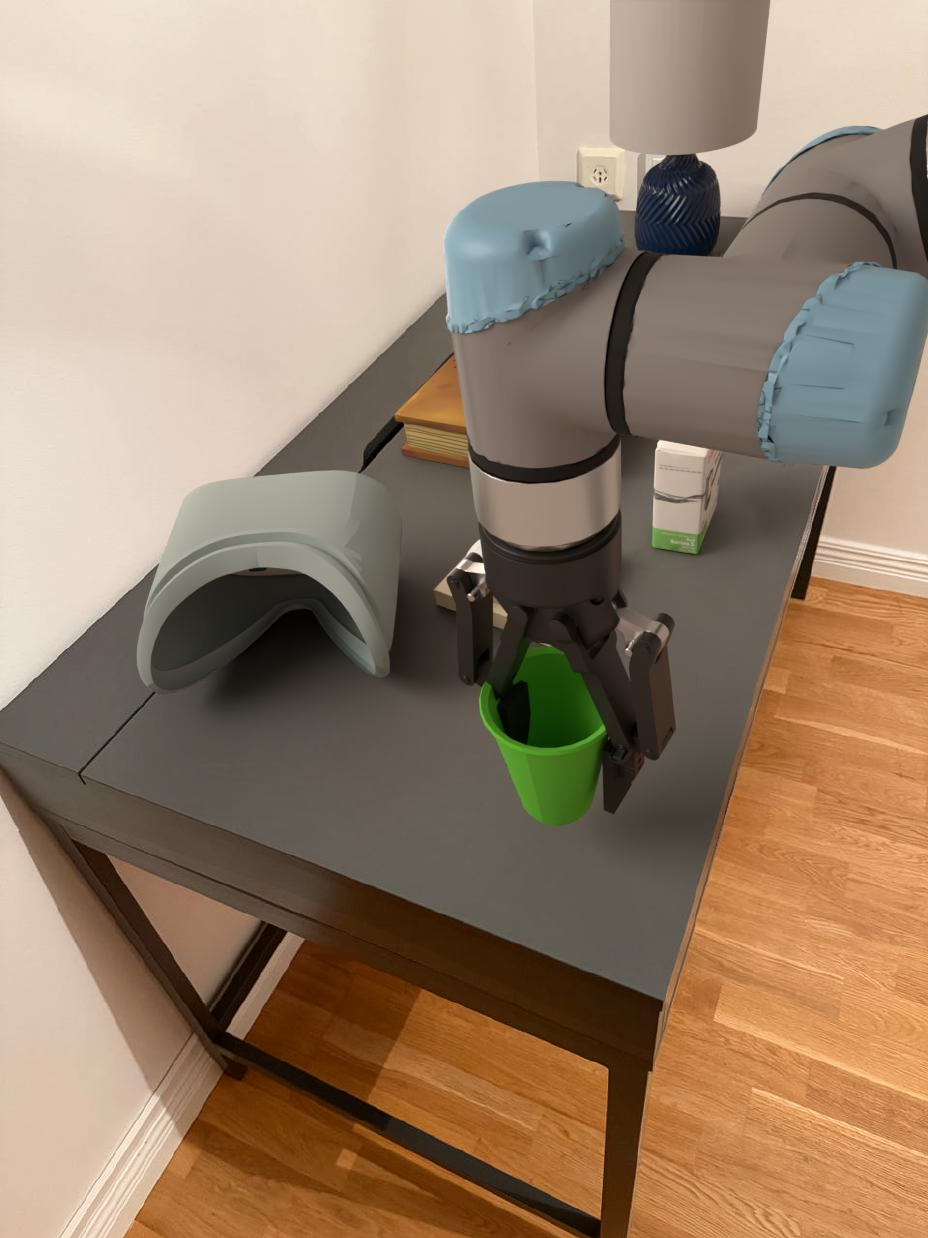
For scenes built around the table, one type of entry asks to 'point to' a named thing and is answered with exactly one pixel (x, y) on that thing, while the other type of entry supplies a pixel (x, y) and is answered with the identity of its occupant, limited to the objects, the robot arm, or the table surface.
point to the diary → (436, 420)
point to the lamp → (683, 106)
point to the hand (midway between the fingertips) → (567, 775)
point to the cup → (552, 739)
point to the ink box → (684, 495)
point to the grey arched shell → (272, 572)
